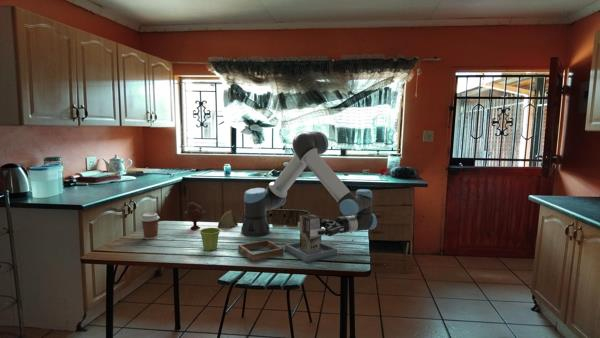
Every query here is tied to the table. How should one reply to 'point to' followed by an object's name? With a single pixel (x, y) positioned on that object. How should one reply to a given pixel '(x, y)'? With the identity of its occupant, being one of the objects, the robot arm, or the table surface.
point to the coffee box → (306, 241)
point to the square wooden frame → (261, 255)
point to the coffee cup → (150, 225)
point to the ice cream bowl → (194, 214)
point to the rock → (228, 220)
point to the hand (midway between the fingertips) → (303, 229)
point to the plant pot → (210, 238)
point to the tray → (325, 253)
